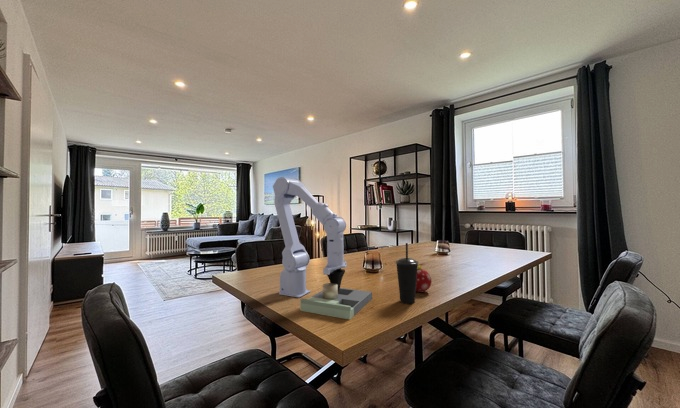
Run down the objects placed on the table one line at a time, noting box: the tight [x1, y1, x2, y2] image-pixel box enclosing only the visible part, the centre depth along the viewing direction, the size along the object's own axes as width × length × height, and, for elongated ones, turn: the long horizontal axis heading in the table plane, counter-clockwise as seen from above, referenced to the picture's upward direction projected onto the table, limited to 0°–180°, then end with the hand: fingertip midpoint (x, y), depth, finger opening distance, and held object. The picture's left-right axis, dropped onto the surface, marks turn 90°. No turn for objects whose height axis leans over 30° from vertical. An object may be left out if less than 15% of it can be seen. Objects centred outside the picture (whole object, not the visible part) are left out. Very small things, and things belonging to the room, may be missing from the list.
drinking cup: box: [395, 242, 419, 305], centre depth 96 cm, size 8×8×20 cm
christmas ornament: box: [416, 264, 432, 293], centre depth 107 cm, size 9×9×10 cm
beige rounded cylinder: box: [322, 282, 338, 300], centre depth 94 cm, size 5×5×4 cm
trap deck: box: [299, 287, 373, 320], centre depth 94 cm, size 17×20×4 cm
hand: (335, 290), depth 98 cm, fingers closed
